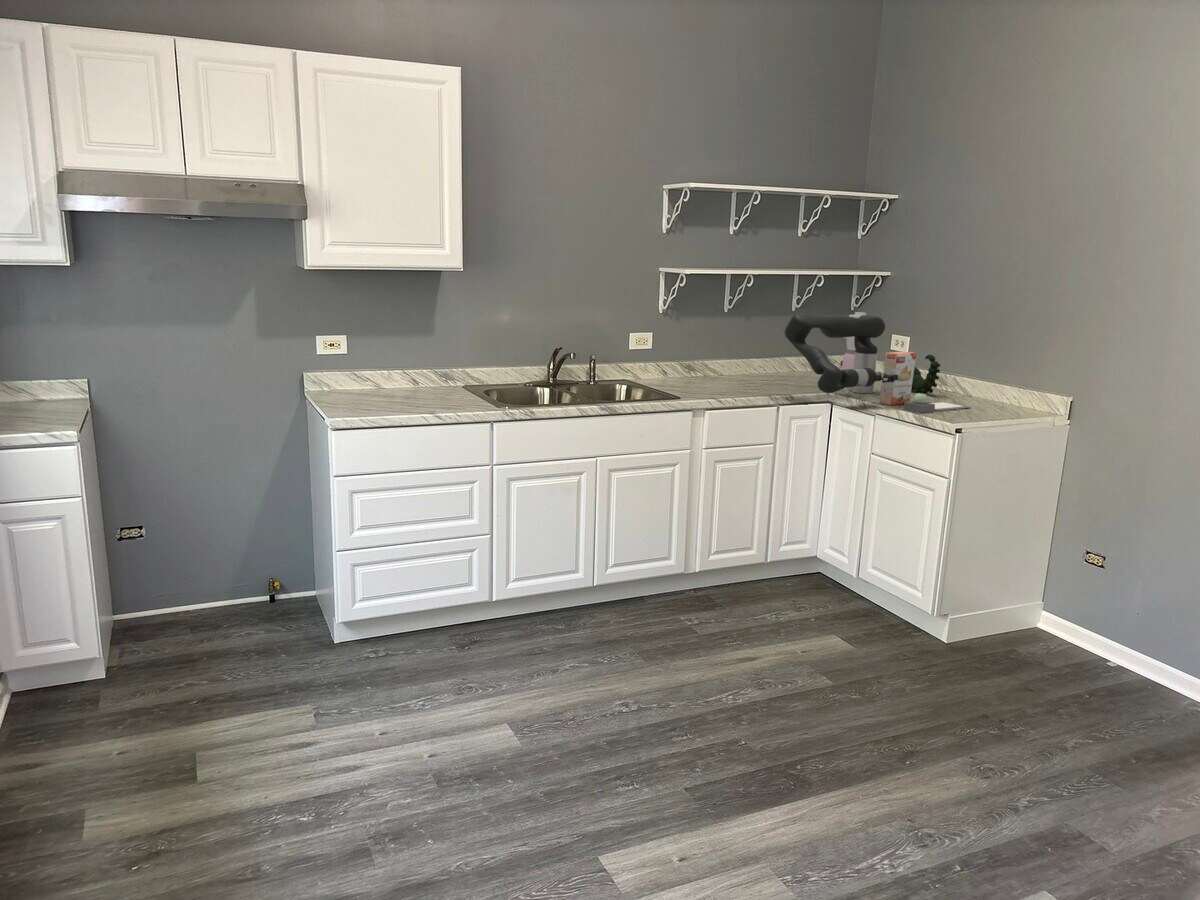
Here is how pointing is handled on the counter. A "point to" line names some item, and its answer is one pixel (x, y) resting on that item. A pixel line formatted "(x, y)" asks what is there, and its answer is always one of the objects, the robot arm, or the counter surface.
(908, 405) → the grey square holder
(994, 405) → the counter surface
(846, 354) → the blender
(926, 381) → the toy figurine
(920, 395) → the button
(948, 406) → the mat
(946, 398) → the counter surface
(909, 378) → the cracker box
